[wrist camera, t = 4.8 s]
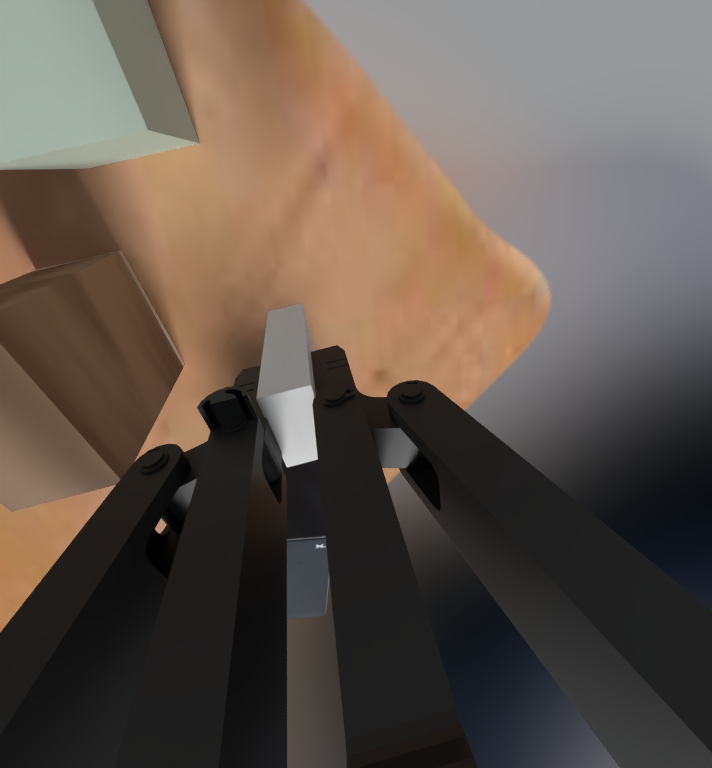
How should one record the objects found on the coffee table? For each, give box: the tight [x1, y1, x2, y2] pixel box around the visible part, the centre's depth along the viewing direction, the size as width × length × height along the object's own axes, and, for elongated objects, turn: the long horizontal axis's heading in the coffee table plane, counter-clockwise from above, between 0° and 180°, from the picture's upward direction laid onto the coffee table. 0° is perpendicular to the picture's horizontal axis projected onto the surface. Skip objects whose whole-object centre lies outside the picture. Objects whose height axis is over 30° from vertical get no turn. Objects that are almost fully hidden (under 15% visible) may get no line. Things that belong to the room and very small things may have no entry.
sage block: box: [0, 0, 200, 170], centre depth 13 cm, size 6×6×8 cm
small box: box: [282, 458, 329, 619], centre depth 27 cm, size 11×6×10 cm, turn 175°
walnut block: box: [0, 250, 185, 512], centre depth 17 cm, size 5×8×11 cm, turn 10°
